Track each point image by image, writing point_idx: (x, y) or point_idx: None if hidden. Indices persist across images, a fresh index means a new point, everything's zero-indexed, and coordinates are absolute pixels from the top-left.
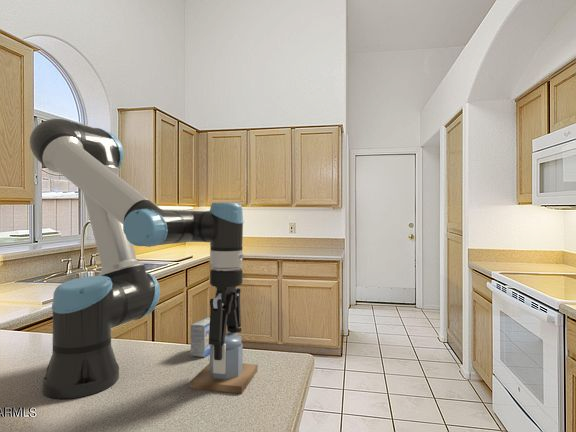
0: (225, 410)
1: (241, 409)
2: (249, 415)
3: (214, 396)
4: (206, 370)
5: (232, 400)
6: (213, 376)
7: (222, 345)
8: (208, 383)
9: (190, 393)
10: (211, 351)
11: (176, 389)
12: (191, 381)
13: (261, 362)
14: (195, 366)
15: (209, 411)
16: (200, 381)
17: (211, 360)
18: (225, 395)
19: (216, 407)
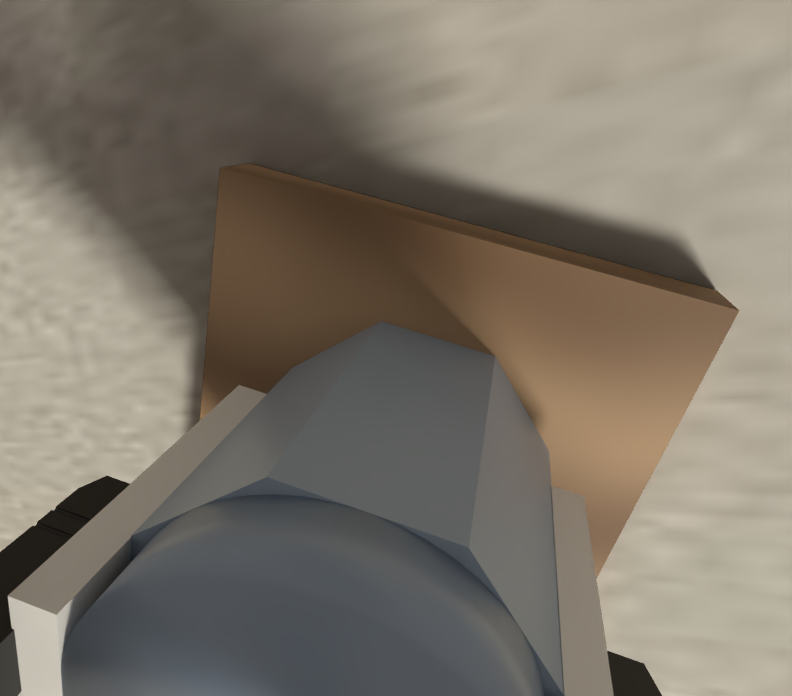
0: (36, 426)
1: (64, 497)
2: (28, 525)
3: (159, 360)
4: (455, 282)
5: (135, 460)
6: (302, 363)
7: (32, 682)
8: (208, 329)
9: (171, 186)
10: (247, 460)
11: (216, 38)
12: (219, 179)
13: (715, 673)
14: (769, 93)
15: (4, 347)
16: (227, 261)
17: (291, 402)
18: (182, 423)
19: (49, 380)
